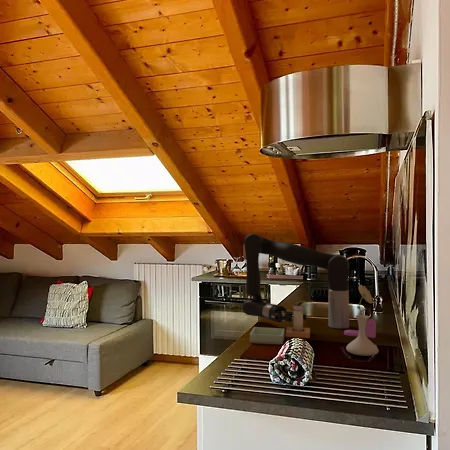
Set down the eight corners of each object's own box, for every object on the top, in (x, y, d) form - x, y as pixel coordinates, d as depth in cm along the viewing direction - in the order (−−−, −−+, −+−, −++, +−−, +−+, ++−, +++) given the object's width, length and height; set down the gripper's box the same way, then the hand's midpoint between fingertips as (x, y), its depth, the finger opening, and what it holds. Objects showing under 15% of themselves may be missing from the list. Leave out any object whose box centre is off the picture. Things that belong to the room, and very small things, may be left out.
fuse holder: (310, 332, 200) (310, 328, 200) (309, 337, 190) (309, 333, 190) (287, 331, 202) (287, 327, 202) (285, 336, 192) (285, 331, 192)
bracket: (375, 335, 196) (375, 319, 196) (375, 338, 191) (375, 321, 191) (344, 332, 200) (345, 316, 201) (343, 335, 195) (343, 319, 195)
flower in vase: (380, 359, 159) (380, 288, 159) (347, 357, 161) (347, 287, 162) (375, 349, 172) (376, 283, 172) (344, 347, 174) (345, 282, 174)
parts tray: (284, 336, 191) (284, 328, 191) (282, 344, 179) (282, 335, 179) (253, 335, 194) (253, 327, 194) (249, 342, 181) (249, 334, 181)
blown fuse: (303, 333, 197) (303, 306, 198) (302, 336, 193) (303, 307, 193) (293, 333, 198) (293, 305, 198) (293, 335, 194) (293, 307, 194)
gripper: (262, 305, 205) (286, 311, 192) (286, 303, 213) (310, 308, 200) (262, 322, 205) (286, 329, 192) (286, 319, 213) (310, 325, 199)
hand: (298, 318), depth 196 cm, fingers open, 8 cm apart
